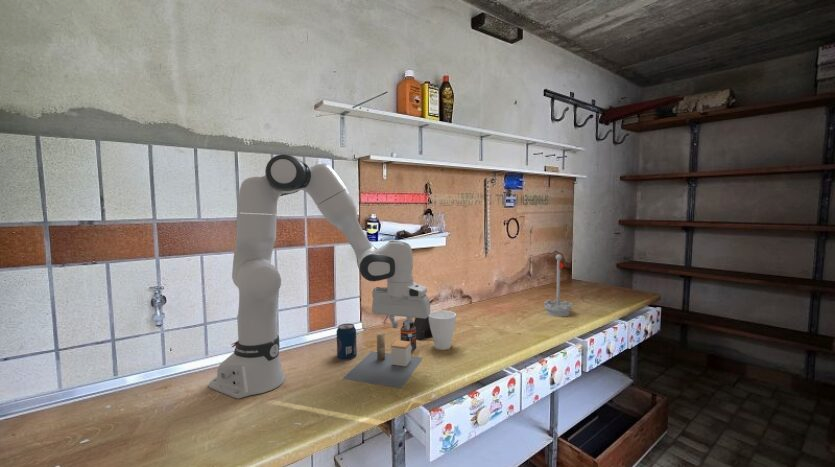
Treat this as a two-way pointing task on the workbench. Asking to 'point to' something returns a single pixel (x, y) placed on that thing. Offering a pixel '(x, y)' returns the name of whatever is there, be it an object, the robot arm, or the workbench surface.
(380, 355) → the birch dowel
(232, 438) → the workbench surface
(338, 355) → the soda can
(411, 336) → the supplement bottle
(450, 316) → the cup
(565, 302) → the flag stand
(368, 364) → the board
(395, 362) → the white block tan top
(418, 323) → the door stopper
